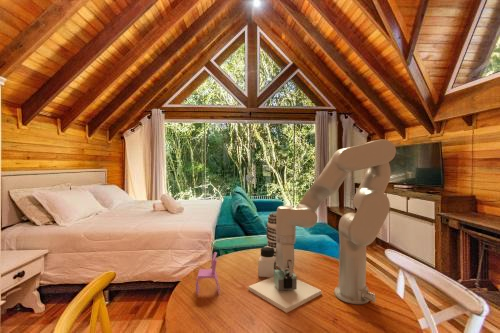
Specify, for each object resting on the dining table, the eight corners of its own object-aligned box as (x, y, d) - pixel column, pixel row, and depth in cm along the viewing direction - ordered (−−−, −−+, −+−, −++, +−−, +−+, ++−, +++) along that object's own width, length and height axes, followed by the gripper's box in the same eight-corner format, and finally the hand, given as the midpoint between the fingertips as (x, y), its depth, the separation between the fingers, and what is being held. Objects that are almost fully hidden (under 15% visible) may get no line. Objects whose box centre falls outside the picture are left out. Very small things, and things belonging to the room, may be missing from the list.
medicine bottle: (274, 278, 114) (274, 251, 114) (257, 276, 115) (258, 249, 115) (275, 271, 121) (276, 245, 121) (260, 270, 122) (261, 244, 122)
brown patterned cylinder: (273, 258, 138) (274, 210, 137) (287, 263, 131) (288, 213, 130) (261, 262, 132) (262, 213, 131) (275, 268, 125) (276, 216, 124)
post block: (321, 294, 101) (321, 277, 101) (286, 312, 88) (286, 293, 88) (282, 276, 116) (283, 261, 116) (248, 289, 103) (248, 273, 103)
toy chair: (197, 286, 105) (198, 249, 105) (219, 285, 106) (220, 249, 106) (195, 297, 97) (195, 257, 97) (219, 296, 98) (219, 256, 98)
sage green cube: (290, 281, 106) (290, 268, 106) (296, 289, 99) (296, 276, 99) (273, 282, 105) (274, 269, 105) (278, 290, 98) (278, 277, 98)
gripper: (270, 232, 110) (269, 274, 110) (283, 245, 92) (282, 295, 93) (287, 231, 111) (287, 273, 111) (303, 244, 94) (302, 293, 94)
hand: (284, 283), depth 102 cm, fingers closed on sage green cube, 7 cm apart
